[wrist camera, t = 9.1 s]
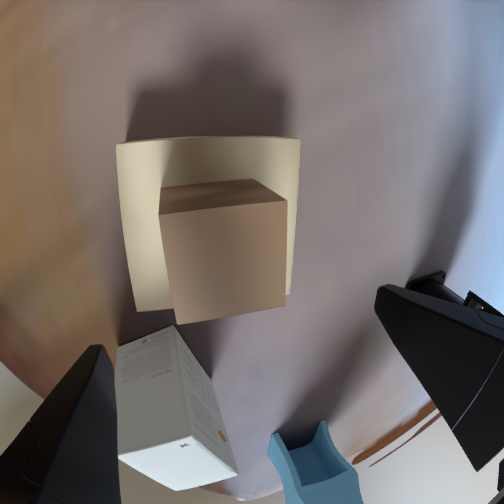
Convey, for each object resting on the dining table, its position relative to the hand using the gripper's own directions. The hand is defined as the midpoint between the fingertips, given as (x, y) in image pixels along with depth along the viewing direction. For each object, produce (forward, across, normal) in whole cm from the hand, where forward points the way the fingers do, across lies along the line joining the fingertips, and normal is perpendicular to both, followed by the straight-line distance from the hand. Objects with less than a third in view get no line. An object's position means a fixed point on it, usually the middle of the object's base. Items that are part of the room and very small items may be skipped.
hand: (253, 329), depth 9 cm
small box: (+13, +5, +13) cm, 19 cm away
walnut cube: (+9, 0, 0) cm, 9 cm away
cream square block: (+13, 0, 0) cm, 13 cm away
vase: (+13, -8, +34) cm, 37 cm away
